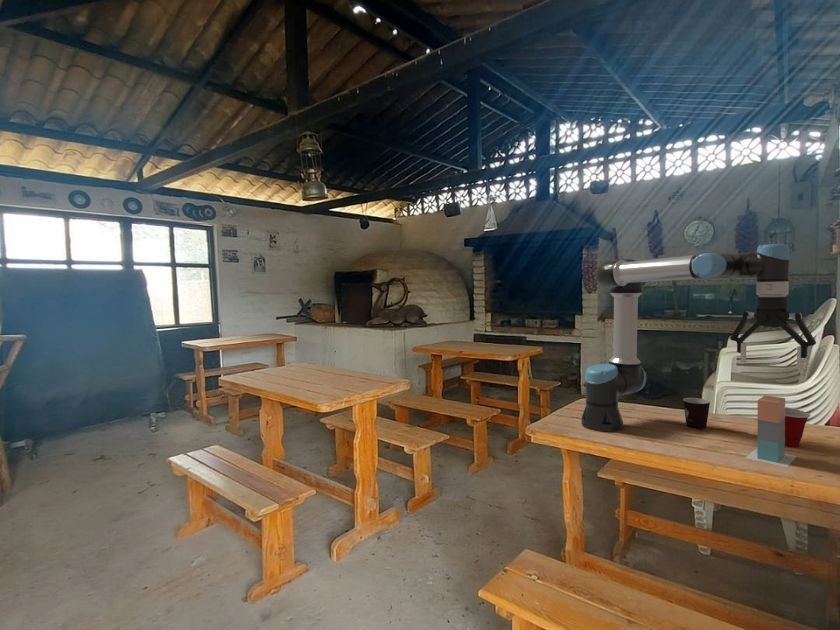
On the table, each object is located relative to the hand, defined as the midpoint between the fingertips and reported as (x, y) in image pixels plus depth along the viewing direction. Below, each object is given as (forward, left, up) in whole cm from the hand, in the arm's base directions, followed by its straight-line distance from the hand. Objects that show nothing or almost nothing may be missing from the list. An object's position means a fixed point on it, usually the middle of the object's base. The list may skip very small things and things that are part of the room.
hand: (770, 366), depth 133 cm
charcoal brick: (0, 0, -22) cm, 22 cm away
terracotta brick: (0, 0, -16) cm, 16 cm away
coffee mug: (-27, +20, -29) cm, 44 cm away
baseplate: (0, 0, -29) cm, 29 cm away
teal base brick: (0, 0, -28) cm, 28 cm away
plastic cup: (+1, +17, -29) cm, 33 cm away
